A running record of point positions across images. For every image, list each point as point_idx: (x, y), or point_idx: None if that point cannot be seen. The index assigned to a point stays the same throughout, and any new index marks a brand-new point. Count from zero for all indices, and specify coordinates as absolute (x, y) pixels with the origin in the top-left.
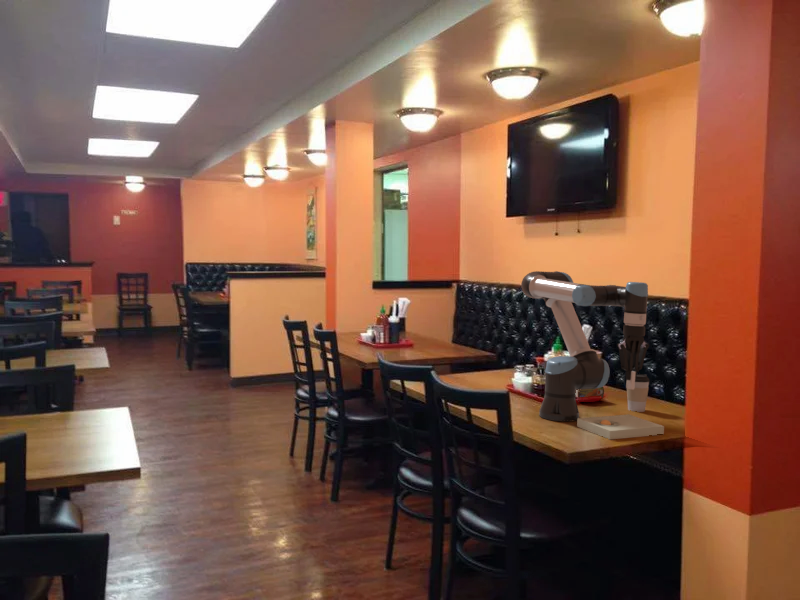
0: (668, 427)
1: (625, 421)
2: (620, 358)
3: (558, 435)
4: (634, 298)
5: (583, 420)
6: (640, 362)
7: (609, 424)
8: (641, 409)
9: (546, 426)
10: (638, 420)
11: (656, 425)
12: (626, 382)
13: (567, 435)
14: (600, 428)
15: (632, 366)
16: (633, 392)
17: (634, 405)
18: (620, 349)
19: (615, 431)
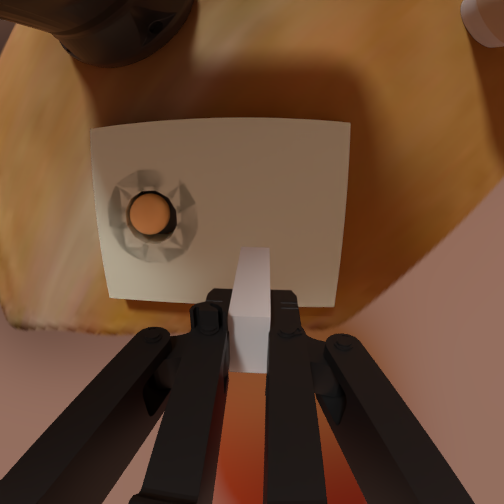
0: (417, 231)
1: (243, 214)
2: (75, 406)
3: (19, 211)
4: None
5: (93, 161)
6: (336, 434)
7: (150, 234)
8: (487, 44)
9: (27, 116)
10: (309, 217)
11: (315, 293)
12: (238, 263)
13: (36, 217)
14: (103, 254)
15: (224, 406)
16: (500, 9)
17: (477, 24)
18: (16, 499)
19: (129, 297)
